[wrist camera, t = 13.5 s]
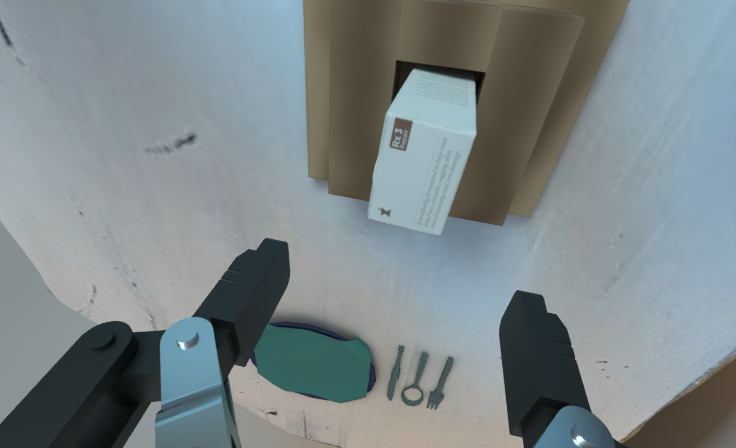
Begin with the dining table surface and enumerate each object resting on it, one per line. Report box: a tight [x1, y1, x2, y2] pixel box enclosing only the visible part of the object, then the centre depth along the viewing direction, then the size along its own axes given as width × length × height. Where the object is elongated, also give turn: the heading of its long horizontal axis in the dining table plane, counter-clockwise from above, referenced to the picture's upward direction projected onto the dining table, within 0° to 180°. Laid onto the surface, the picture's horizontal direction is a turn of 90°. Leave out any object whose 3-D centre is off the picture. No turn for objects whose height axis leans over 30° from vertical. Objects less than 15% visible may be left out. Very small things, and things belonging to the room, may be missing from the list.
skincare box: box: [367, 63, 477, 236], centre depth 21 cm, size 6×4×12 cm
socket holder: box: [303, 0, 630, 226], centre depth 25 cm, size 20×16×4 cm
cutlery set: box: [250, 322, 453, 410], centre depth 52 cm, size 20×30×2 cm, turn 86°
